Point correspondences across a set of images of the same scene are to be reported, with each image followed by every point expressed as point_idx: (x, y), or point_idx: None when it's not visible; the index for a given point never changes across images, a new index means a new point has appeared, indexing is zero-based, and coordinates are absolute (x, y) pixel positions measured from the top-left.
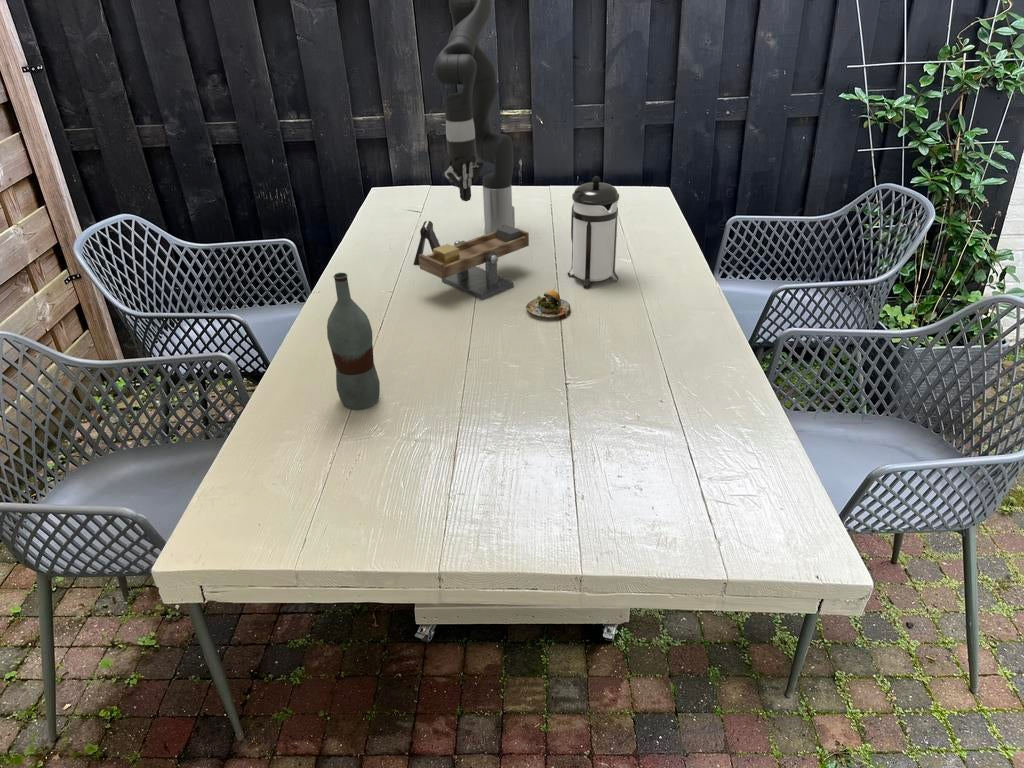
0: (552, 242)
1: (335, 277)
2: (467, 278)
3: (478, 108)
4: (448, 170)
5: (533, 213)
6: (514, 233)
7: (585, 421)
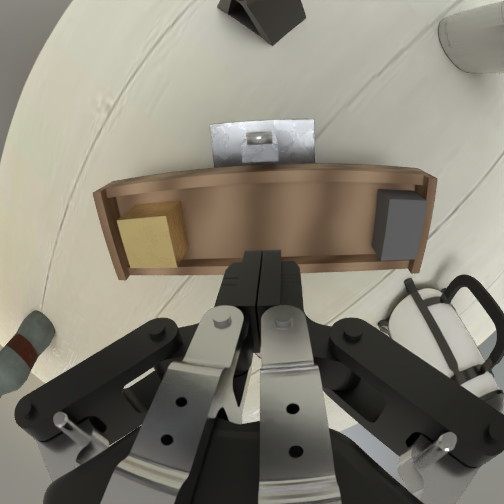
0: (497, 156)
1: None
2: None
3: None
4: (51, 458)
5: None
6: (393, 258)
7: None
